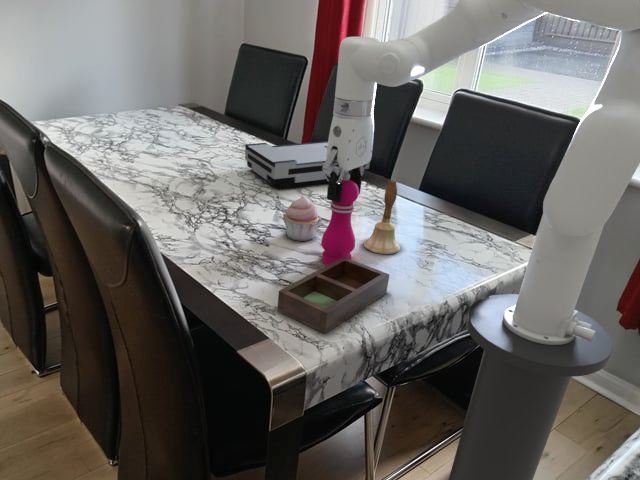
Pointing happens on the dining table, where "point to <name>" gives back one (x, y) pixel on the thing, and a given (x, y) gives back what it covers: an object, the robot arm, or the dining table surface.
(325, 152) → the game console
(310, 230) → the cupcake
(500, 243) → the dining table surface
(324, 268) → the holder
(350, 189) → the pepper mill
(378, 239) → the hand bell
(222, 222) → the dining table surface
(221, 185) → the dining table surface
